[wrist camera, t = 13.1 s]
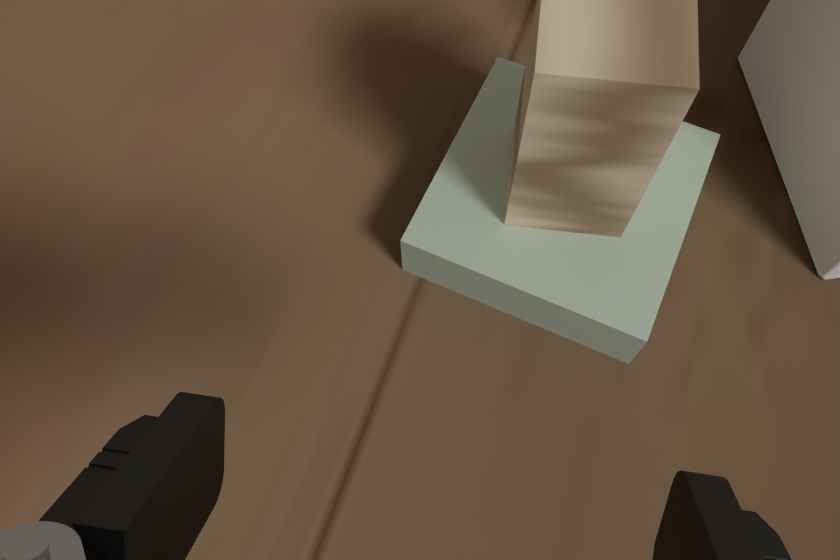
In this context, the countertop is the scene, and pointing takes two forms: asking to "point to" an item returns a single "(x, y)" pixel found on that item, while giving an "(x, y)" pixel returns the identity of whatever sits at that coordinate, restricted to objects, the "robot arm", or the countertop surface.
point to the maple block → (599, 110)
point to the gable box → (802, 113)
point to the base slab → (551, 234)
